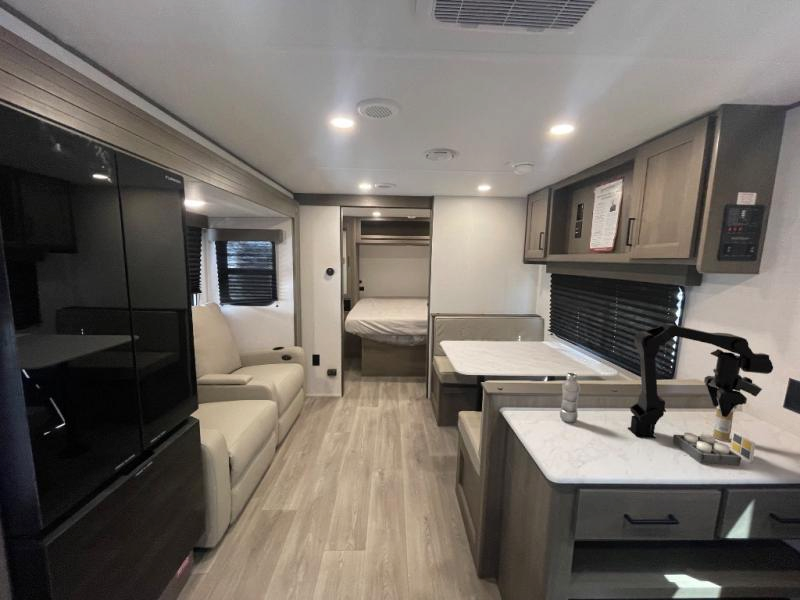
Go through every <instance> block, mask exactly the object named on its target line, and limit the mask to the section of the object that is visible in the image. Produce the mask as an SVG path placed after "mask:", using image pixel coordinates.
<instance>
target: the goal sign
mask: <svg viewBox="0 0 800 600" xmlns="http://www.w3.org/2000/svg"><path fill="white" fill-rule="evenodd" d="M731 435H732V436H731V442H730V446H729V447H730V450H731V451H732V452H734V453H735V454H737V455H739V456H740V457H741V459H743V460H746V461H747V462H749V463H751V464H752V463H753V461H754V460H753V459H754V454H755V448H756V444H757V443H756V442H754V441H753V440H751V439H749V438H747V437H745V436H744V435H742V434H740V433H739V432H737V431H732V434H731Z"/></svg>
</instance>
